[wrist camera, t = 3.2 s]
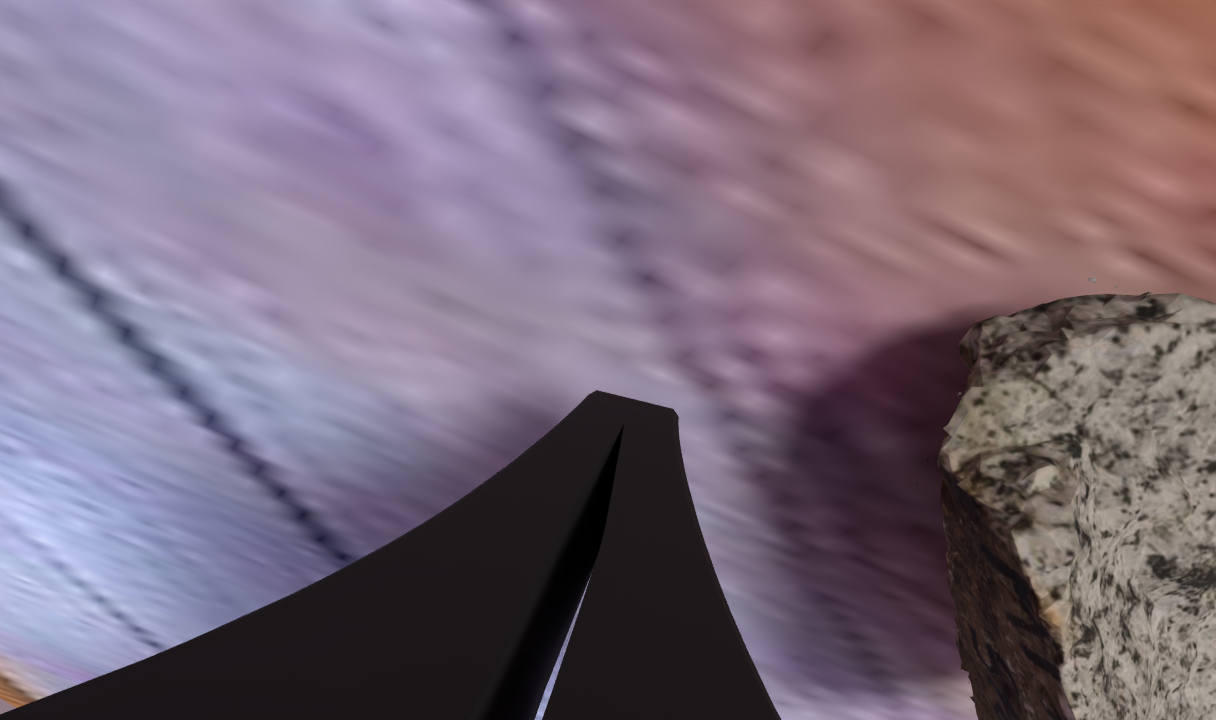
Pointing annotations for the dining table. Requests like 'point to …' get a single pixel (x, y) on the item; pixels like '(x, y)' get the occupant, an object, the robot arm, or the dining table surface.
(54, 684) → the dining table surface
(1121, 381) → the rock sample
